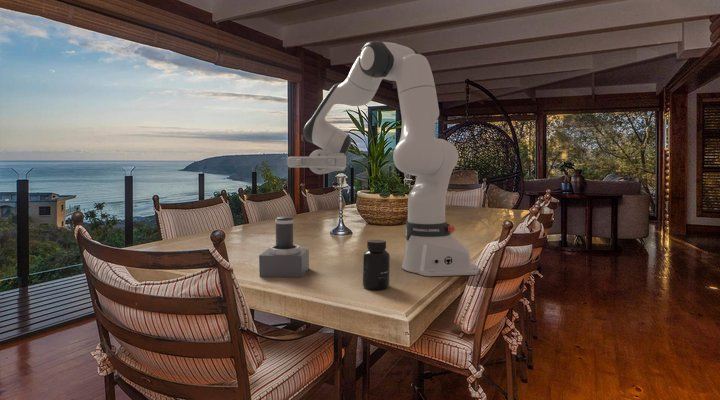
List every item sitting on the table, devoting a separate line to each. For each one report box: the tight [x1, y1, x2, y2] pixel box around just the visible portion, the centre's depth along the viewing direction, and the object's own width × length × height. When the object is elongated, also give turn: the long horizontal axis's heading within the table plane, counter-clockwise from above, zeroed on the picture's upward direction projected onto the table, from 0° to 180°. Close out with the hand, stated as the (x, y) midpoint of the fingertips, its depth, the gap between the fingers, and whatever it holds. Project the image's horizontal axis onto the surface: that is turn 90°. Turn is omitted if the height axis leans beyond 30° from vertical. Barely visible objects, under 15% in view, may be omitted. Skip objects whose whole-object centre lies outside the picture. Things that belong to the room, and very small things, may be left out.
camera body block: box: [258, 243, 310, 278], centre depth 123 cm, size 12×10×8 cm
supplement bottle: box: [362, 239, 391, 291], centre depth 109 cm, size 7×7×12 cm
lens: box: [274, 215, 295, 249], centre depth 122 cm, size 5×5×10 cm
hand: (313, 162), depth 139 cm, fingers open, 8 cm apart
